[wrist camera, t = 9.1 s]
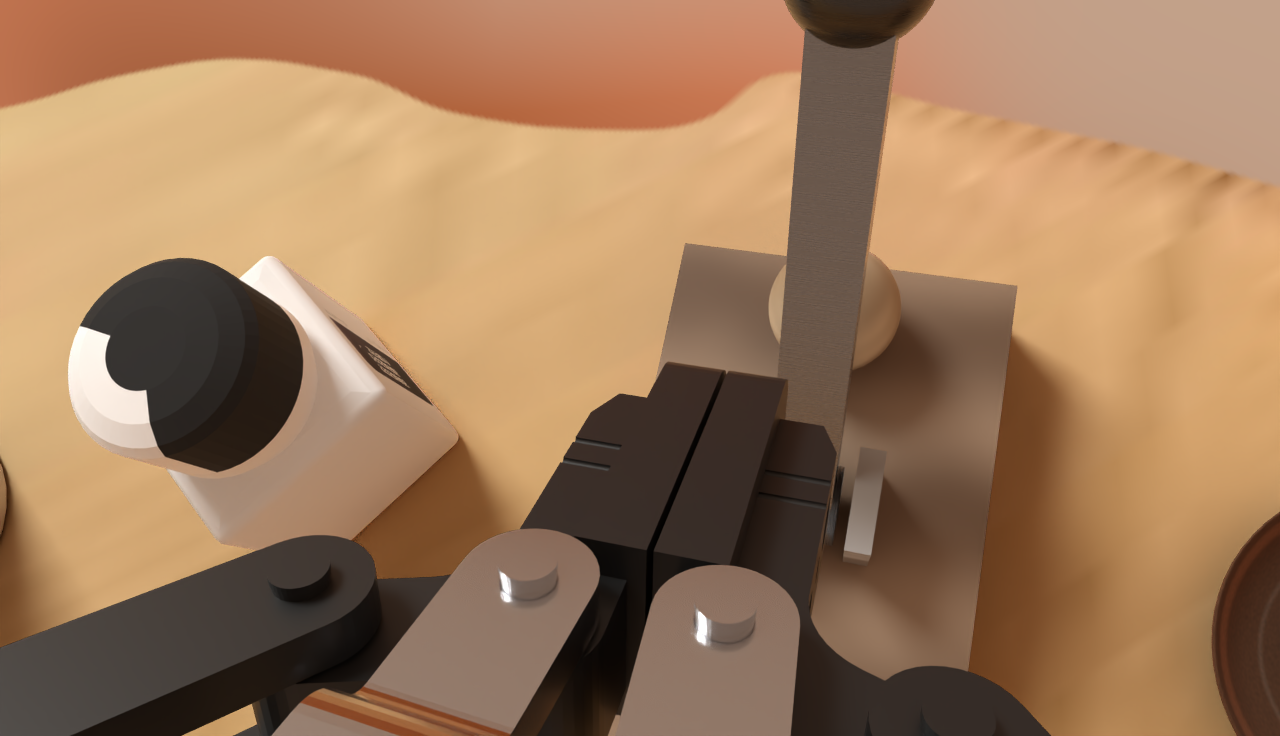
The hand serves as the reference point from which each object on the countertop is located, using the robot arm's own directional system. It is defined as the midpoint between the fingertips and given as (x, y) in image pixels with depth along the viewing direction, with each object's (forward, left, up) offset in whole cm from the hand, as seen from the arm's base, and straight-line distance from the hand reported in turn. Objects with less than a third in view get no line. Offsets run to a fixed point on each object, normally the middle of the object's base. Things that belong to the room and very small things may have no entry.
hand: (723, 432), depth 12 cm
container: (-18, -8, -27) cm, 33 cm away
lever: (-1, +1, -22) cm, 22 cm away
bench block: (-1, +2, -26) cm, 26 cm away
